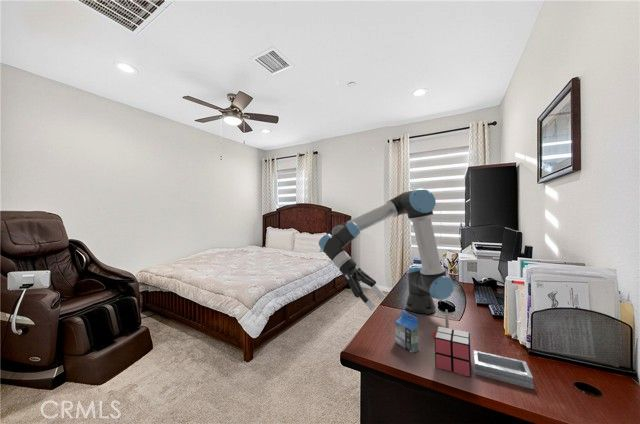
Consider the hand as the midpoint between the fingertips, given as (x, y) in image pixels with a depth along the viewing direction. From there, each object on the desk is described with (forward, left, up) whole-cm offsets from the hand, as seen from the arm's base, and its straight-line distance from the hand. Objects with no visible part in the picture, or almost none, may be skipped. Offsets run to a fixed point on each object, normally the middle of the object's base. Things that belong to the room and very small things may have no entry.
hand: (378, 303), depth 98 cm
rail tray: (+2, +40, -15) cm, 42 cm away
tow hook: (-14, +23, -15) cm, 31 cm away
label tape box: (0, +11, -15) cm, 19 cm away
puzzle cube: (+4, +26, -15) cm, 31 cm away
